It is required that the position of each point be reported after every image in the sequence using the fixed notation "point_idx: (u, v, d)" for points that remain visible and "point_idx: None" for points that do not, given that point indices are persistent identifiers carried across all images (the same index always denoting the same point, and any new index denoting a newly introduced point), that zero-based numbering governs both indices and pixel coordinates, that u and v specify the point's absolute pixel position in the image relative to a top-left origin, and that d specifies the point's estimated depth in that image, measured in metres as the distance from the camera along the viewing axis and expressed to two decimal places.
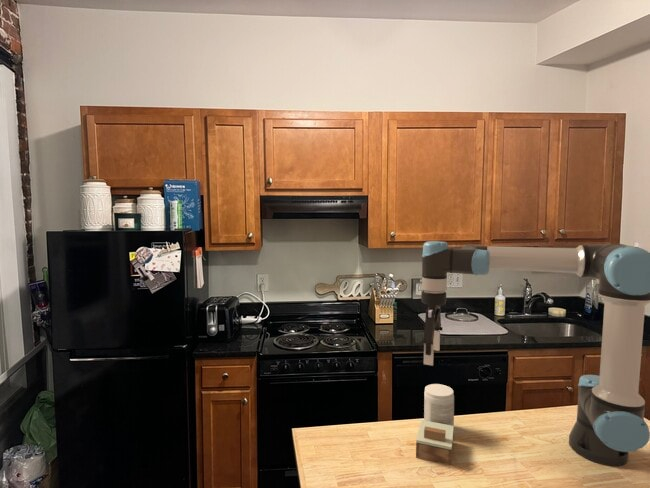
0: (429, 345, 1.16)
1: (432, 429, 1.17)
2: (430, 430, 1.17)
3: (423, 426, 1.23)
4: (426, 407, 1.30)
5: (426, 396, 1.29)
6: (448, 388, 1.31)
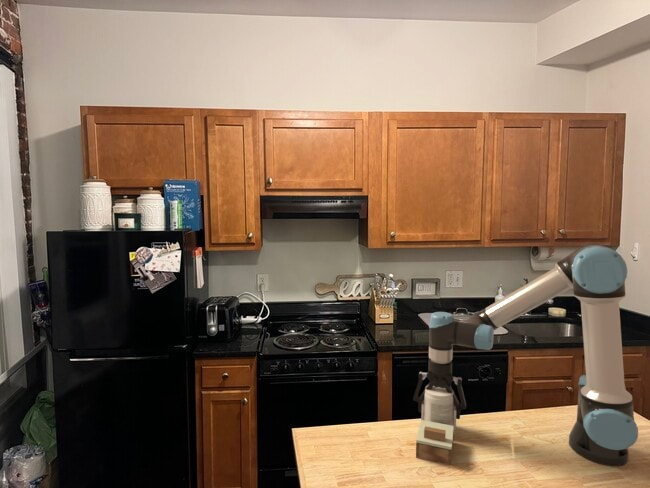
0: None
1: (432, 429, 1.17)
2: (430, 430, 1.17)
3: (423, 426, 1.23)
4: (426, 407, 1.30)
5: (426, 396, 1.29)
6: None
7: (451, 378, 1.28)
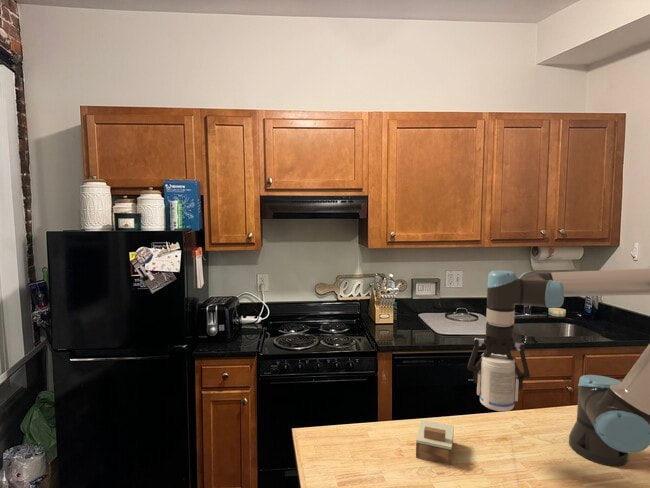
0: (473, 372, 1.19)
1: (432, 429, 1.17)
2: (430, 430, 1.17)
3: (423, 426, 1.23)
4: (484, 376, 1.16)
5: (484, 364, 1.16)
6: None
7: (513, 343, 1.14)
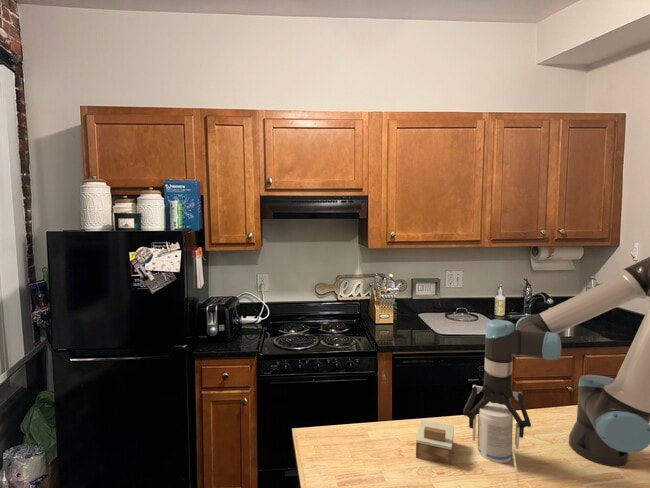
0: (469, 417, 1.21)
1: (432, 429, 1.17)
2: (430, 430, 1.17)
3: (423, 426, 1.23)
4: (481, 428, 1.17)
5: (481, 416, 1.17)
6: (505, 407, 1.19)
7: (510, 393, 1.15)
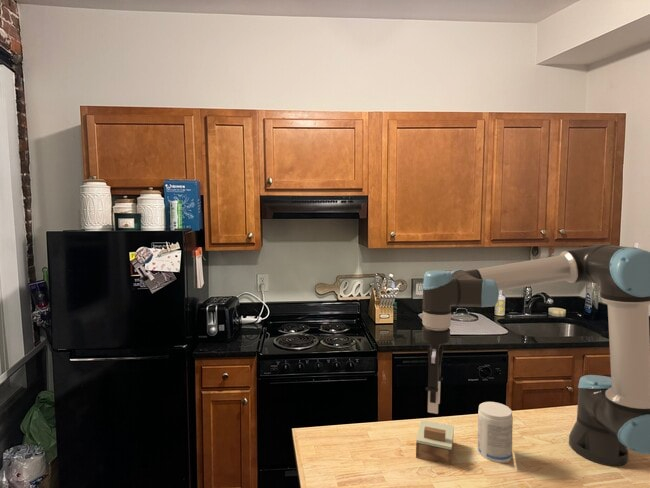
0: (434, 392, 1.05)
1: (432, 429, 1.17)
2: (430, 430, 1.17)
3: (423, 426, 1.23)
4: (481, 428, 1.17)
5: (481, 416, 1.17)
6: (505, 407, 1.19)
7: None
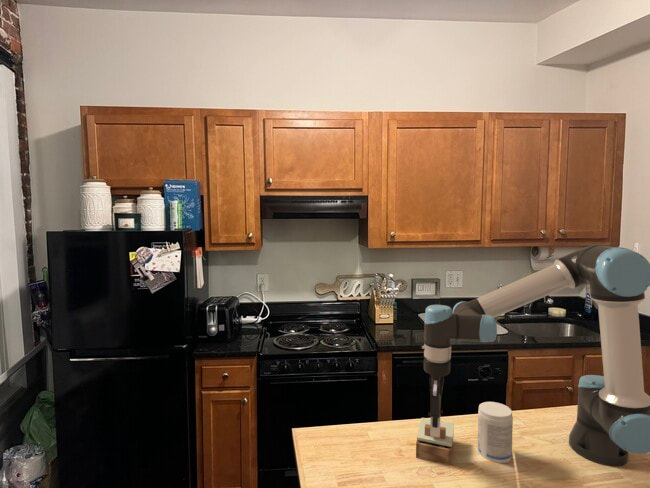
0: (436, 418, 1.14)
1: None
2: None
3: (424, 424, 1.25)
4: (481, 428, 1.17)
5: (481, 416, 1.17)
6: (505, 407, 1.19)
7: None
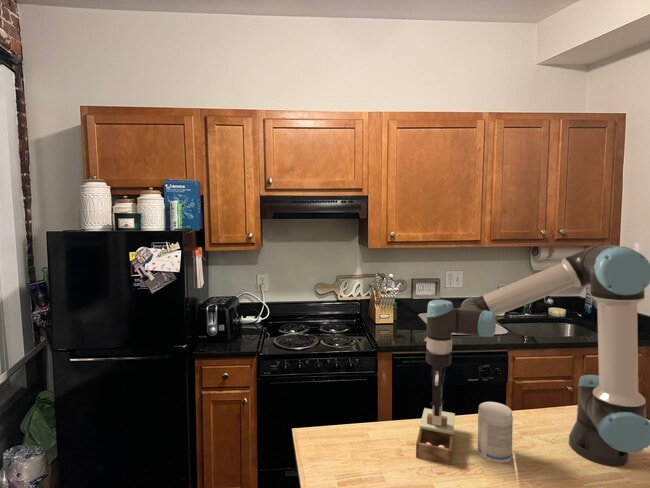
0: (438, 407, 1.21)
1: None
2: None
3: (426, 413, 1.31)
4: (481, 428, 1.17)
5: (481, 416, 1.17)
6: (505, 407, 1.19)
7: None
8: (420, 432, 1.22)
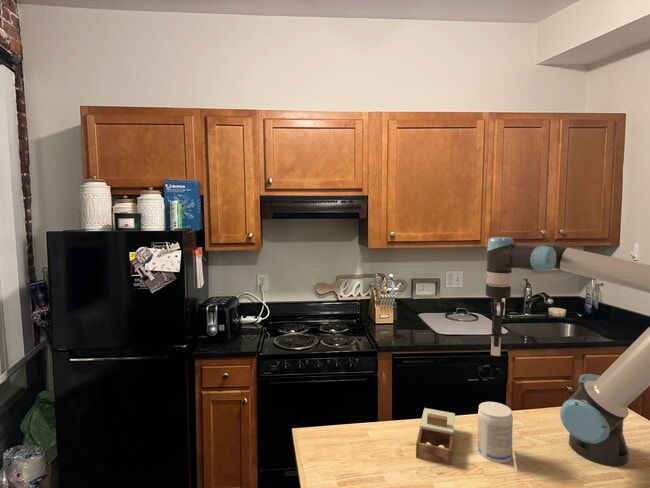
0: (498, 337, 1.27)
1: (435, 416, 1.25)
2: (433, 416, 1.24)
3: (426, 413, 1.31)
4: (481, 428, 1.17)
5: (481, 416, 1.17)
6: (505, 407, 1.19)
7: None
8: (420, 432, 1.22)
